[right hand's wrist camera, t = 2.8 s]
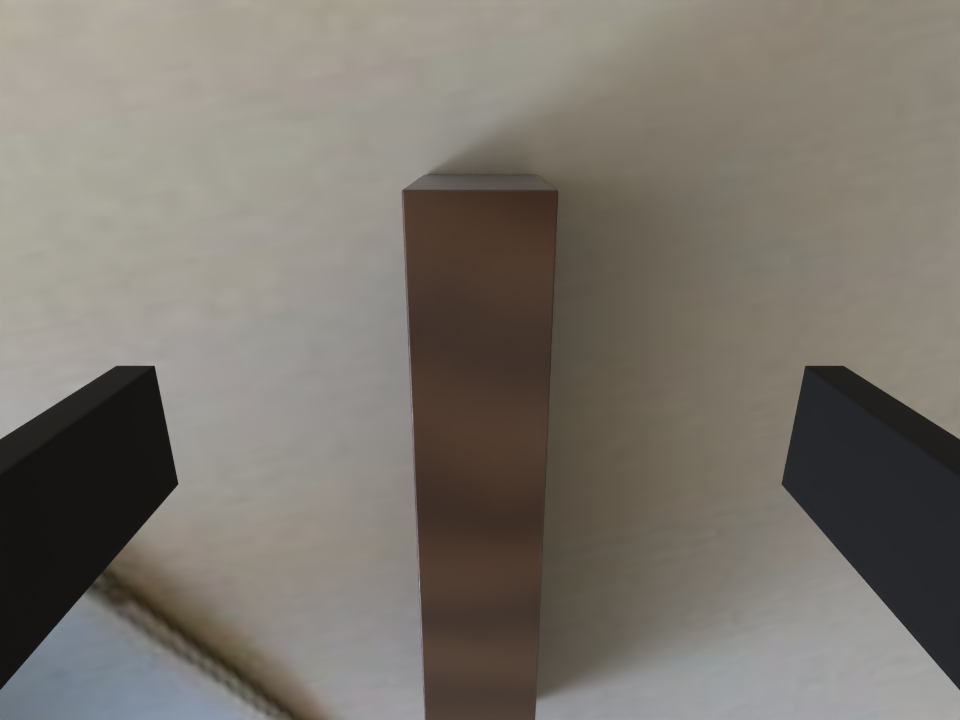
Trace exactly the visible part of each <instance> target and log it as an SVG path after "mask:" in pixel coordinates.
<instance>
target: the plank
mask: <svg viewBox="0 0 960 720" xmlns="http://www.w3.org/2000/svg"><path fill="white" fill-rule="evenodd" d="M402 207H403V230H404V253H405V276H406V299H407V322H408V345H409V368H410V391H411V413H412V436H413V459H414V482H415V505H416V528H417V551H418V574H419V597H420V620H421V643H422V666H423V688H424V711H425V720H535V711H536V688H537V666H538V643H539V620H540V597H541V574H542V551H543V528H544V505H545V482H546V459H547V437H548V414H549V391H550V368H551V345H552V322H553V299H554V276H555V253H556V230H557V208H558V190H557V189H555V188H554V187H552V186H551V185H549V184H548V183H547V182H545V181H544V180H542V179H541V178H539V177H538V176H537V175H423V176H422V177H421V178H419V179H418V180H416V181H415V182H413V183H412V184H411V185H409V186H408V187H406V188H405V189H403V190H402Z"/></svg>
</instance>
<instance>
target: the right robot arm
mask: <svg viewBox="0 0 960 720" xmlns="http://www.w3.org/2000/svg"><path fill="white" fill-rule="evenodd" d="M177 485H178V480H177V475H176V470H175V465H174V460H173V455H172V450H171V445H170V440H169V435H168V430H167V425H166V420H165V415H164V410H163V405H162V401H161V396H160V391H159V386H158V381H157V376H156V371H155V366H116V367H114V368H112V369H111V370H109V371H108V372H106V373H104V374H103V375H101V376H100V377H98V378H97V379H95V380H93V381H92V382H90V383H89V384H87V385H86V386H84V387H82V388H81V389H79V390H78V391H76V392H74V393H73V394H71V395H70V396H68V397H67V398H65V399H63V400H62V401H60V402H59V403H57V404H56V405H54V406H52V407H51V408H49V409H48V410H46V411H44V412H43V413H41V414H40V415H38V416H37V417H35V418H33V419H32V420H30V421H29V422H27V423H26V424H24V425H22V426H21V427H19V428H18V429H16V430H14V431H13V432H11V433H10V434H8V435H7V436H5V437H3V438H2V439H0V690H1V689H2V687H3V686H4V685H5V684H6V683H7V682H8V680H9V679H10V678H11V677H12V676H13V675H14V674H15V672H16V671H17V670H18V669H19V668H20V667H21V665H22V664H23V663H24V662H25V661H26V660H27V659H28V657H29V656H30V655H31V654H32V653H33V652H34V650H35V649H36V648H37V647H38V646H39V645H40V643H41V642H42V641H43V640H44V639H45V638H46V637H47V635H48V634H49V633H50V632H51V631H52V630H53V628H54V627H55V626H56V625H57V624H58V623H59V622H60V620H61V619H62V618H63V617H64V616H65V615H66V613H67V612H68V611H69V610H70V609H71V608H72V607H73V605H74V604H75V603H76V602H77V601H78V600H79V598H80V597H81V596H82V595H83V594H84V593H85V592H86V590H87V589H88V588H89V587H90V586H91V585H92V583H93V582H94V581H95V580H96V579H97V578H98V576H99V575H100V574H101V573H102V572H103V571H104V570H105V568H106V567H107V566H108V565H109V564H110V563H111V561H112V560H113V559H114V558H115V557H116V556H117V555H118V553H119V552H120V551H121V550H122V549H123V548H124V546H125V545H126V544H127V543H128V542H129V541H130V540H131V538H132V537H133V536H134V535H135V534H136V533H137V531H138V530H139V529H140V528H141V527H142V526H143V524H144V523H145V522H146V521H147V520H148V519H149V518H150V516H151V515H152V514H153V513H154V512H155V511H156V509H157V508H158V507H159V506H160V505H161V504H162V503H163V501H164V500H165V499H166V498H167V497H168V496H169V494H170V493H171V492H172V491H173V490H174V489H175V488H176V486H177ZM782 485H783V486H784V488H785V489H786V490H787V491H788V492H789V493H790V494H791V496H792V497H793V498H794V499H795V500H796V501H797V503H798V504H799V505H800V506H801V507H802V508H803V509H804V511H805V512H806V513H807V514H808V515H809V516H810V518H811V519H812V520H813V521H814V522H815V523H816V524H817V526H818V527H819V528H820V529H821V530H822V531H823V533H824V534H825V535H826V536H827V537H828V538H829V540H830V541H831V542H832V543H833V544H834V545H835V546H836V548H837V549H838V550H839V551H840V552H841V553H842V555H843V556H844V557H845V558H846V559H847V560H848V561H849V563H850V564H851V565H852V566H853V567H854V568H855V570H856V571H857V572H858V573H859V574H860V575H861V576H862V578H863V579H864V580H865V581H866V582H867V583H868V585H869V586H870V587H871V588H872V589H873V590H874V592H875V593H876V594H877V595H878V596H879V597H880V598H881V600H882V601H883V602H884V603H885V604H886V605H887V607H888V608H889V609H890V610H891V611H892V612H893V613H894V615H895V616H896V617H897V618H898V619H899V620H900V622H901V623H902V624H903V625H904V626H905V627H906V628H907V630H908V631H909V632H910V633H911V634H912V635H913V637H914V638H915V639H916V640H917V641H918V642H919V643H920V645H921V646H922V647H923V648H924V649H925V650H926V652H927V653H928V654H929V655H930V656H931V657H932V659H933V660H934V661H935V662H936V663H937V664H938V665H939V667H940V668H941V669H942V670H943V671H944V672H945V674H946V675H947V676H948V677H949V678H950V679H951V680H952V682H953V683H954V684H955V685H956V686H957V687H958V689H959V690H960V439H958V438H957V437H955V436H953V435H952V434H950V433H949V432H947V431H946V430H944V429H942V428H941V427H939V426H938V425H936V424H934V423H933V422H931V421H930V420H928V419H927V418H925V417H923V416H922V415H920V414H919V413H917V412H916V411H914V410H912V409H911V408H909V407H908V406H906V405H904V404H903V403H901V402H900V401H898V400H897V399H895V398H893V397H892V396H890V395H889V394H887V393H886V392H884V391H882V390H881V389H879V388H878V387H876V386H874V385H873V384H871V383H870V382H868V381H867V380H865V379H863V378H862V377H860V376H859V375H857V374H856V373H854V372H852V371H851V370H849V369H848V368H846V367H844V366H805V371H804V376H803V381H802V386H801V391H800V396H799V400H798V405H797V410H796V415H795V420H794V425H793V430H792V435H791V440H790V445H789V450H788V455H787V460H786V465H785V470H784V475H783V480H782Z"/></svg>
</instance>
